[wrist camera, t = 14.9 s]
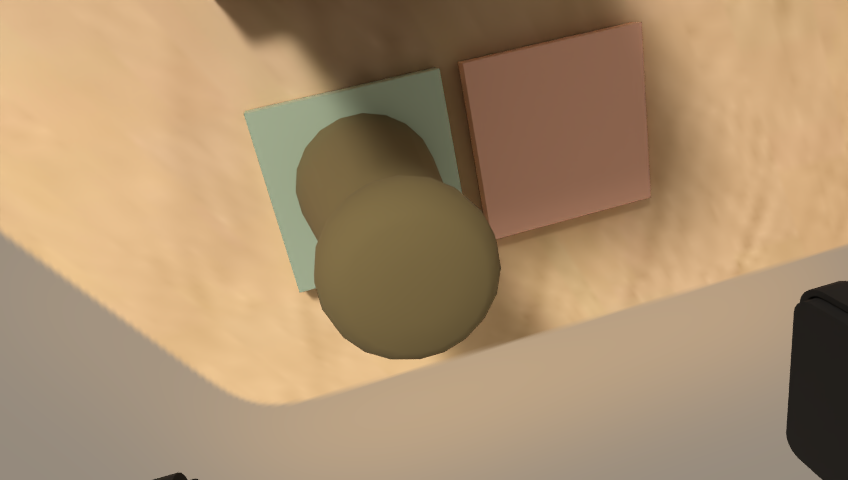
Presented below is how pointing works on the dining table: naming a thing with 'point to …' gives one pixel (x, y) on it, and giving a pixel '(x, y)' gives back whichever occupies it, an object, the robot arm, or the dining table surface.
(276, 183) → the green pad
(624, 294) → the dining table surface
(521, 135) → the terracotta pad
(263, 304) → the dining table surface
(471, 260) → the brown pepper mill
